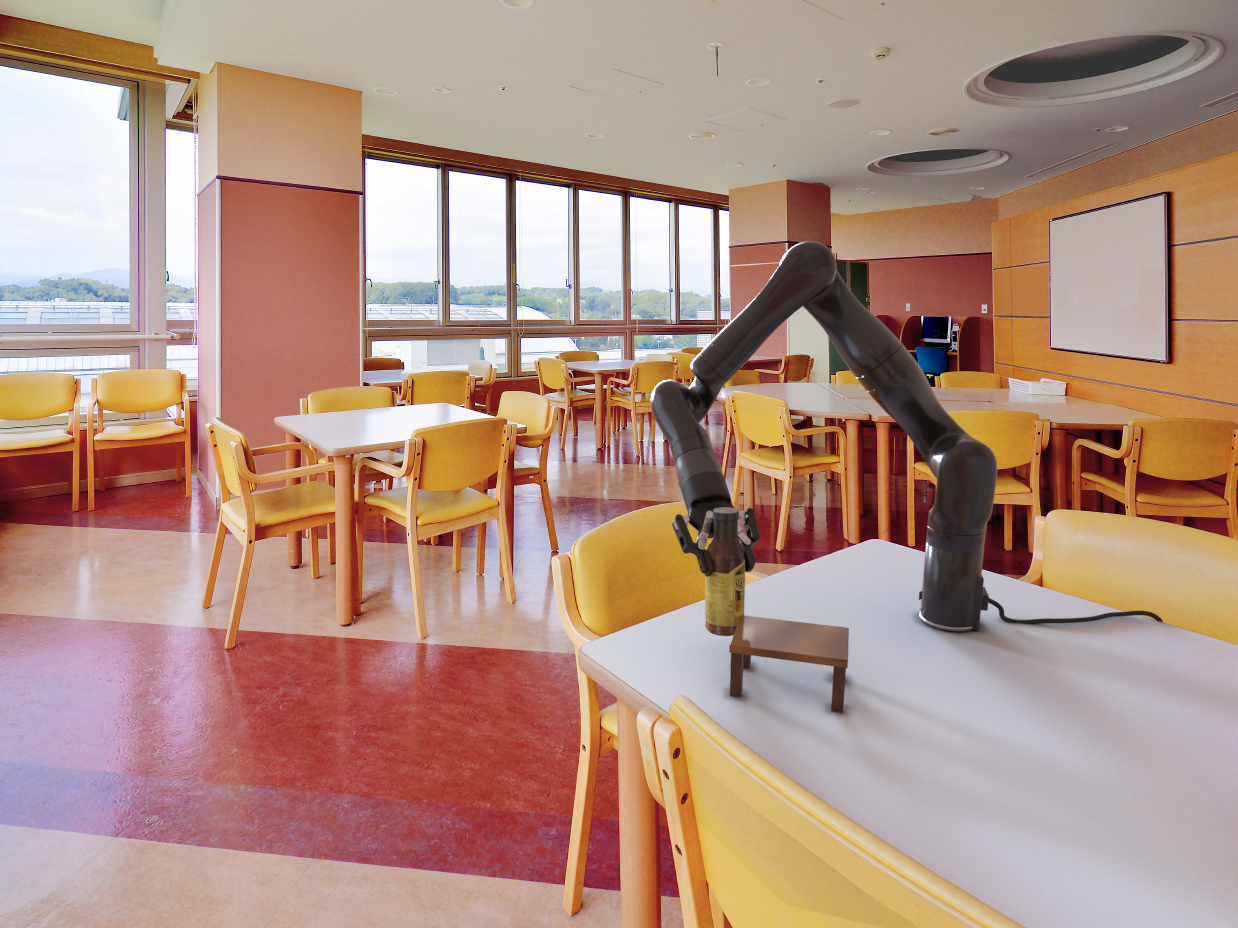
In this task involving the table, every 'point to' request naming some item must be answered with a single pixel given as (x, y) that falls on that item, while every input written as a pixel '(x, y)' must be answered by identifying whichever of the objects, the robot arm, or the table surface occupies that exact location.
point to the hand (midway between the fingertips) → (730, 571)
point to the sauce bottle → (725, 575)
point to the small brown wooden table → (790, 649)
